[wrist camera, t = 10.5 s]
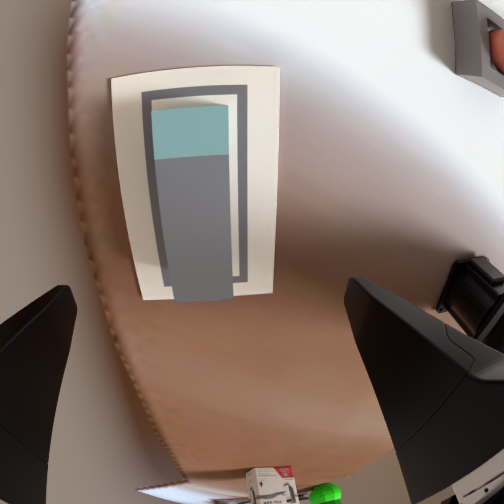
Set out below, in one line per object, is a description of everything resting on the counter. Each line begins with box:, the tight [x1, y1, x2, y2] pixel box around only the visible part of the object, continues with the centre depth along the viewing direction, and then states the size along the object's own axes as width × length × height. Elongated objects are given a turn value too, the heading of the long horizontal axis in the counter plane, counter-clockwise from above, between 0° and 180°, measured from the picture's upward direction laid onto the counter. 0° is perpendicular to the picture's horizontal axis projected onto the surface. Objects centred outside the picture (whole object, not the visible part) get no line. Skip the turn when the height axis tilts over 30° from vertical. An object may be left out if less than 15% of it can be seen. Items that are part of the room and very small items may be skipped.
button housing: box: [451, 0, 504, 97], centre depth 12 cm, size 7×7×3 cm
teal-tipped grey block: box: [151, 105, 234, 303], centre depth 16 cm, size 11×4×4 cm, turn 0°
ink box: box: [246, 467, 299, 504], centre depth 41 cm, size 9×5×12 cm, turn 68°
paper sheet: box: [111, 66, 280, 300], centre depth 18 cm, size 16×10×1 cm, turn 0°
